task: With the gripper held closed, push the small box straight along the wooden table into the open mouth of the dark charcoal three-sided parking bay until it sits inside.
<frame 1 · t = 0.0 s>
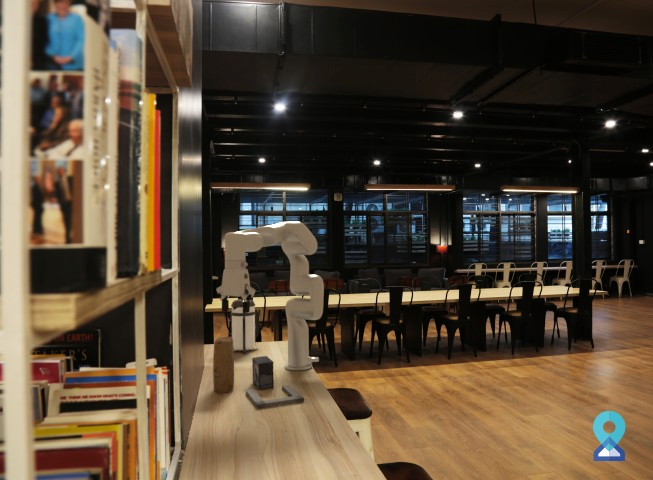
hand: (235, 311, 166), 31 cm above the table, tool pointing down, fingers open, 9 cm apart
parking bay: (273, 396, 165), on the table
block: (224, 390, 174), on the table
small box: (262, 386, 179), on the table
coffee press: (244, 350, 242), on the table
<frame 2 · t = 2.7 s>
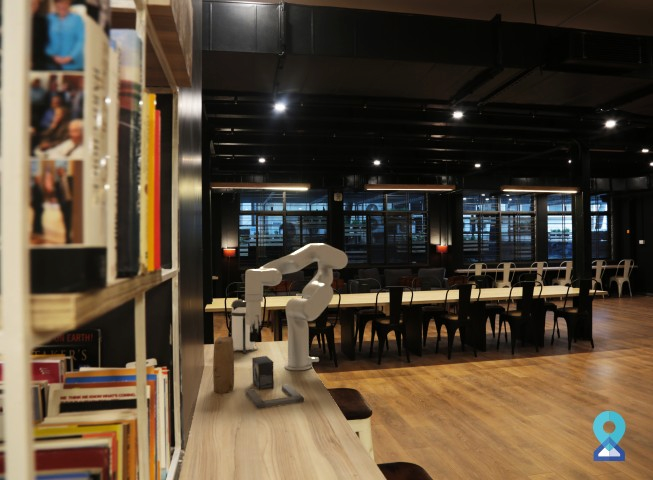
hand: (253, 341, 191), 15 cm above the table, tool pointing down, fingers closed
nothing on the table moved.
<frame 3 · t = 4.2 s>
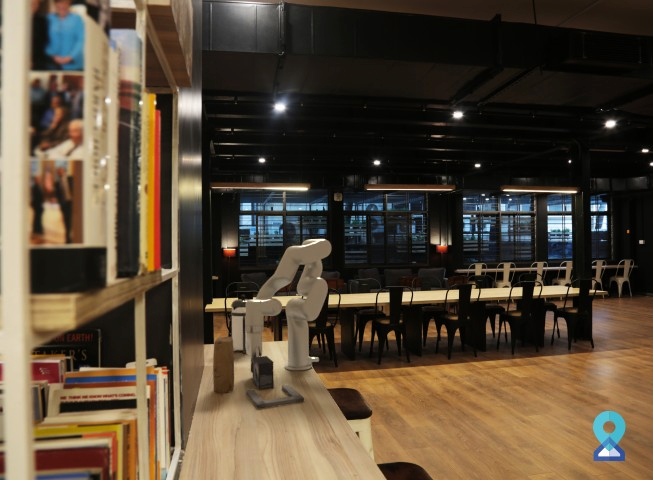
hand: (254, 372, 191), 2 cm above the table, tool pointing down, fingers closed
nothing on the table moved.
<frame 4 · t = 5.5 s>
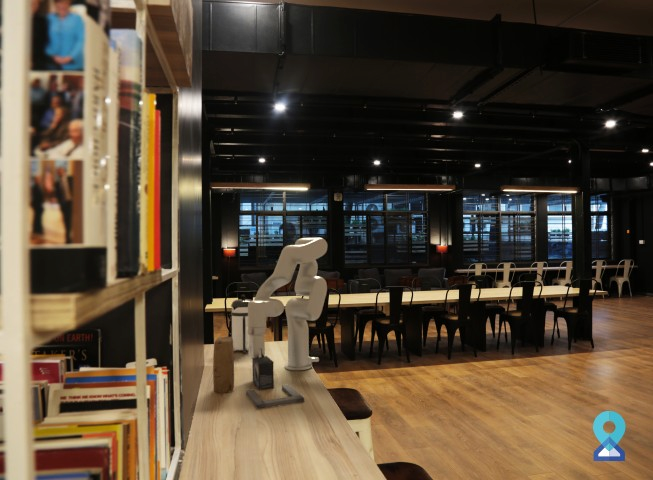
hand: (257, 374, 187), 2 cm above the table, tool pointing down, fingers closed
small box: (262, 386, 179), on the table, touching gripper
everything else where it was.
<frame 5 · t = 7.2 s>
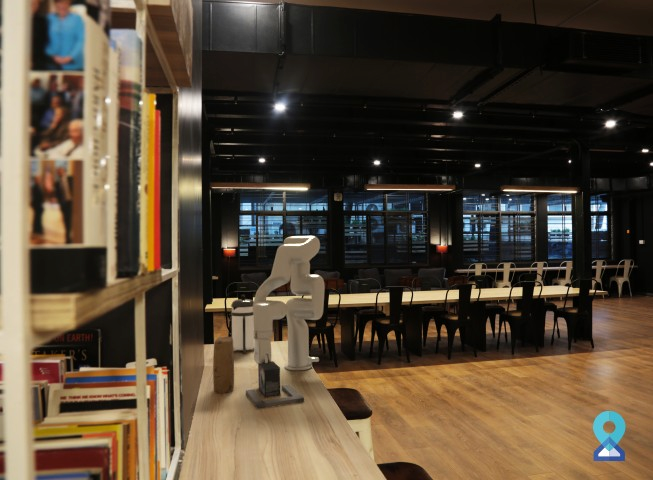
hand: (263, 380, 178), 2 cm above the table, tool pointing down, fingers closed
small box: (269, 393, 170), on the table, touching gripper
everything else where it was.
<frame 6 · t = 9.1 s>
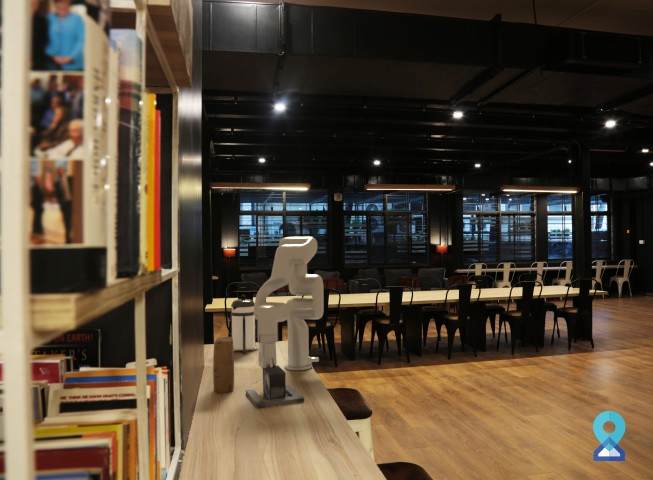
hand: (268, 386, 171), 2 cm above the table, tool pointing down, fingers closed
small box: (274, 398, 163), on the table, touching gripper, parking bay
everything else where it was.
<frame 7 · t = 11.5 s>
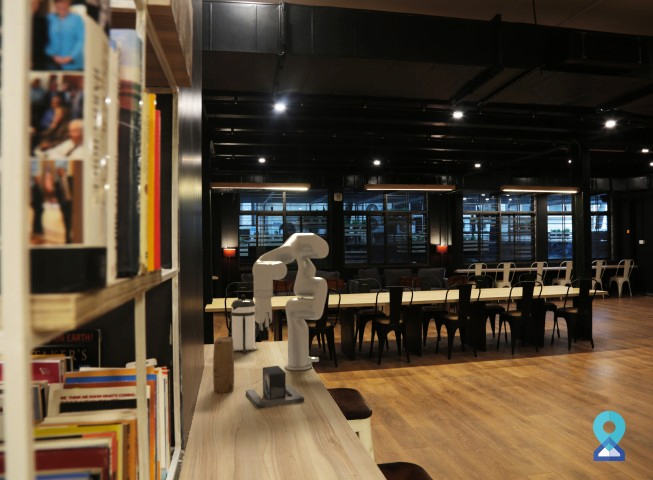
hand: (264, 340, 178), 18 cm above the table, tool pointing down, fingers closed
small box: (274, 399, 163), on the table
everything else where it was.
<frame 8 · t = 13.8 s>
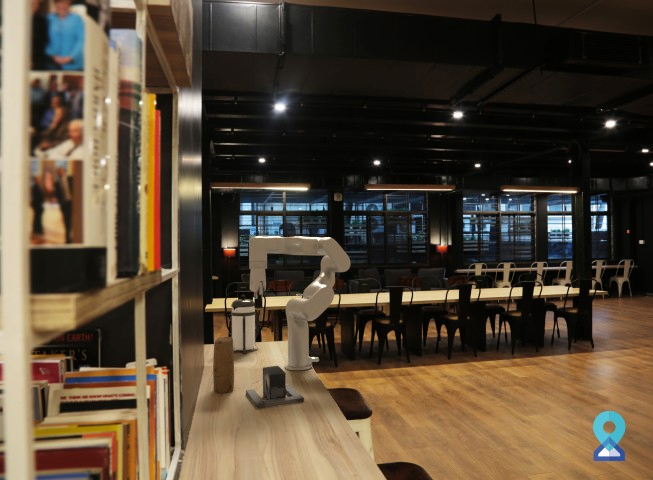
hand: (258, 307, 193), 29 cm above the table, tool pointing down, fingers closed
nothing on the table moved.
at the end: small box 1.7 cm off-centre on the parking bay, point 0.0 cm above the parking bay's base; small box tilted 0° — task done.
